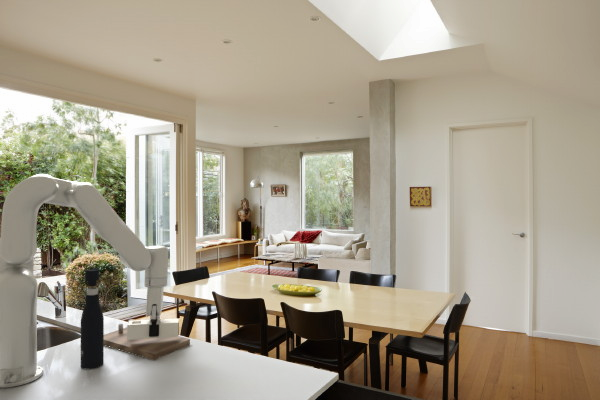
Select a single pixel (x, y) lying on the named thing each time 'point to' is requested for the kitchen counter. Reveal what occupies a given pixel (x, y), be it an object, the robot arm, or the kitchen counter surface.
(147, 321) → the flange bar
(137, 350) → the board
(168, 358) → the kitchen counter surface
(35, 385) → the kitchen counter surface
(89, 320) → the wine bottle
